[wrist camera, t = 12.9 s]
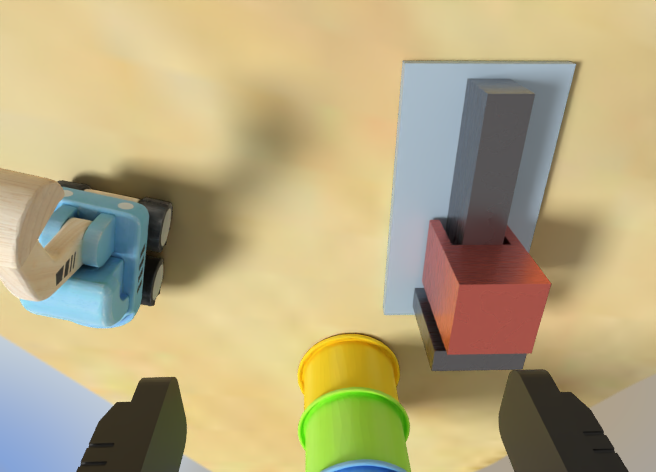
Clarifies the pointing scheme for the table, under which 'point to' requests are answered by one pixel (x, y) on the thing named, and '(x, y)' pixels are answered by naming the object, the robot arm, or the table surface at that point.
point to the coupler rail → (481, 198)
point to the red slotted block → (483, 294)
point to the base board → (440, 155)
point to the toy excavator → (80, 249)
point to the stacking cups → (352, 407)
